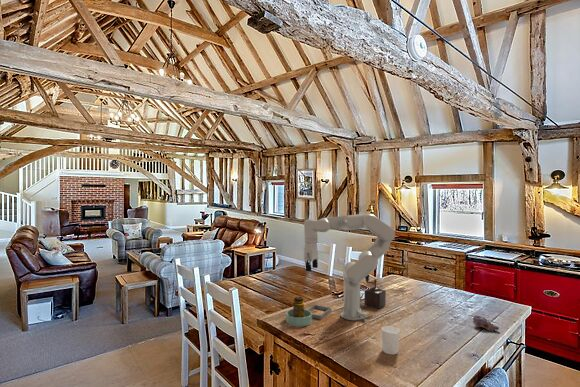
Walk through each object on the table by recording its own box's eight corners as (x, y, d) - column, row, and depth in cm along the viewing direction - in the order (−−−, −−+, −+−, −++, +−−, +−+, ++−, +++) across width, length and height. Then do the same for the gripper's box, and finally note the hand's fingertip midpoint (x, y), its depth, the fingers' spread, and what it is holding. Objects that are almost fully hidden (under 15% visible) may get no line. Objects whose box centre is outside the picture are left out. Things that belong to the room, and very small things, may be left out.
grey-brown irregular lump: (500, 330, 171) (500, 319, 171) (495, 334, 166) (495, 323, 166) (475, 323, 180) (476, 312, 180) (470, 327, 175) (470, 316, 175)
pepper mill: (386, 304, 209) (387, 276, 209) (378, 308, 201) (379, 280, 201) (365, 298, 220) (365, 272, 220) (356, 303, 212) (357, 275, 212)
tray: (331, 311, 196) (331, 307, 196) (320, 319, 183) (320, 316, 183) (314, 307, 202) (314, 304, 202) (303, 315, 189) (303, 312, 189)
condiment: (307, 319, 180) (307, 298, 180) (295, 323, 175) (295, 301, 175) (298, 315, 186) (299, 295, 186) (287, 319, 181) (287, 297, 181)
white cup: (378, 347, 151) (379, 325, 151) (395, 346, 152) (395, 325, 152) (385, 355, 143) (385, 333, 143) (402, 355, 144) (402, 332, 144)
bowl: (316, 319, 183) (316, 311, 183) (304, 328, 171) (304, 320, 171) (294, 314, 191) (294, 306, 191) (281, 322, 178) (281, 314, 178)
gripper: (311, 238, 199) (311, 265, 199) (299, 242, 184) (299, 272, 184) (322, 238, 196) (323, 266, 196) (311, 243, 180) (312, 273, 180)
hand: (311, 269), depth 190 cm, fingers open, 9 cm apart
